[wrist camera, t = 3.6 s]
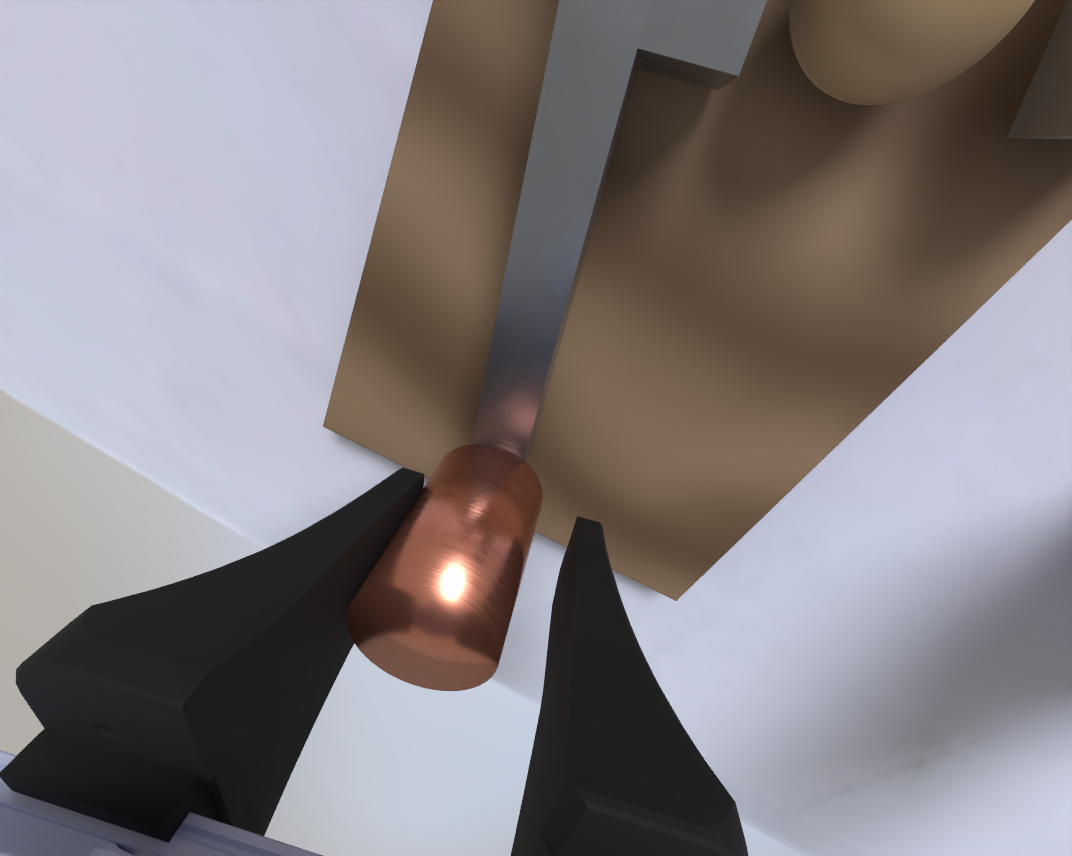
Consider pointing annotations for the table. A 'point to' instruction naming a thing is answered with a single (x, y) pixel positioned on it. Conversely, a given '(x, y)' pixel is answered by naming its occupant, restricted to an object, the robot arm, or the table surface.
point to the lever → (529, 341)
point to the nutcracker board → (697, 269)
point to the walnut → (895, 43)
